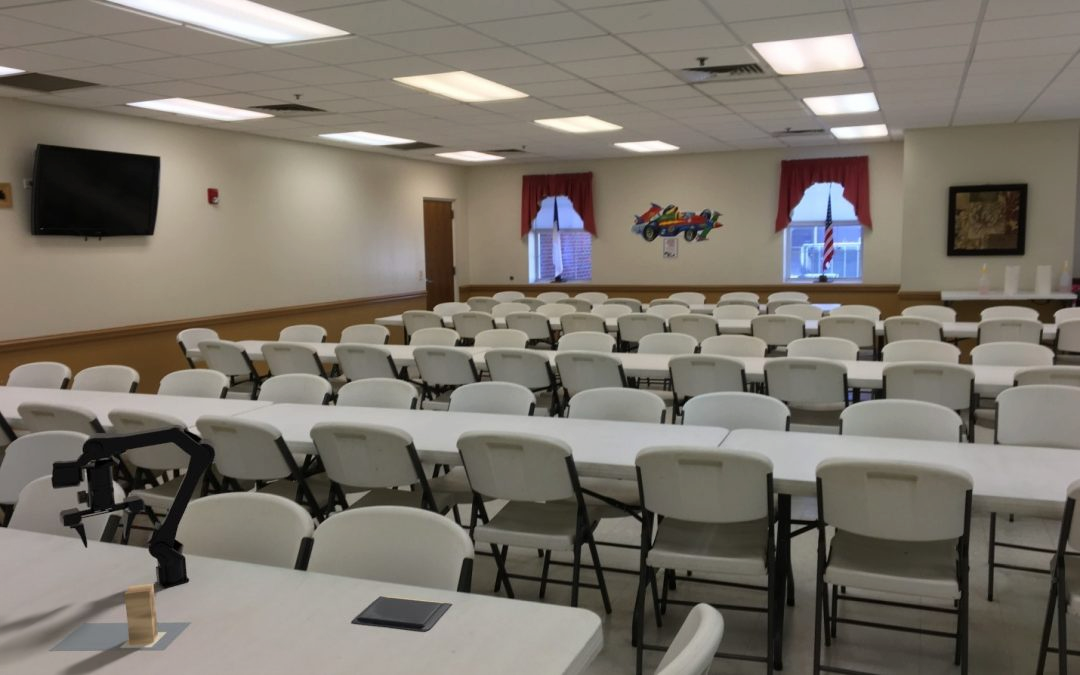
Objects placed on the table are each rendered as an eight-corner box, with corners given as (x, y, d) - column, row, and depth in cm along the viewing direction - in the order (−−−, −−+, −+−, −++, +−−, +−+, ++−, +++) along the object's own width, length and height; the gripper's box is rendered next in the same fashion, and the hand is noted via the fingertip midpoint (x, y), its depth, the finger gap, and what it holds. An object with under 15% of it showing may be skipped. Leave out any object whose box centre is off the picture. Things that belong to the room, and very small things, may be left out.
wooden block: (134, 637, 188) (129, 586, 187) (157, 634, 190) (153, 583, 188) (129, 645, 185) (124, 593, 183) (154, 642, 186) (149, 590, 184)
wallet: (348, 617, 193) (380, 590, 208) (348, 625, 194) (380, 598, 208) (426, 628, 187) (454, 599, 201) (426, 636, 187) (454, 607, 202)
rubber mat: (49, 652, 184) (48, 650, 183) (83, 625, 196) (83, 622, 196) (164, 652, 182) (164, 649, 182) (191, 624, 195) (191, 621, 195)
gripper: (131, 470, 224) (136, 526, 226) (52, 484, 212) (58, 543, 214) (142, 478, 215) (148, 536, 217) (61, 494, 204) (67, 555, 206)
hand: (106, 542), depth 214 cm, fingers open, 9 cm apart
